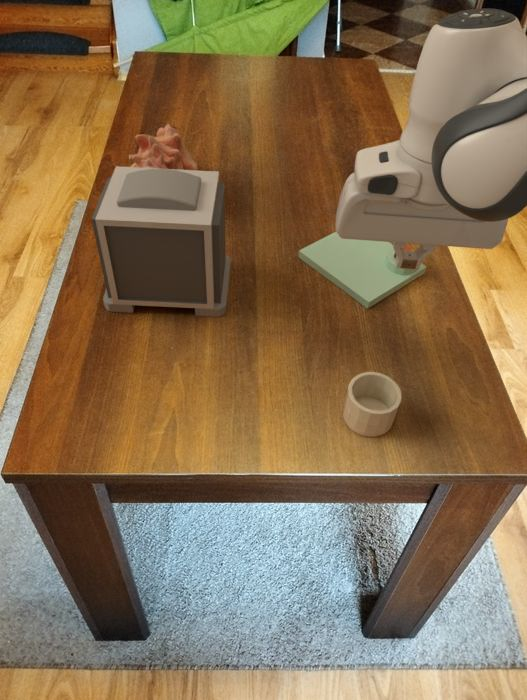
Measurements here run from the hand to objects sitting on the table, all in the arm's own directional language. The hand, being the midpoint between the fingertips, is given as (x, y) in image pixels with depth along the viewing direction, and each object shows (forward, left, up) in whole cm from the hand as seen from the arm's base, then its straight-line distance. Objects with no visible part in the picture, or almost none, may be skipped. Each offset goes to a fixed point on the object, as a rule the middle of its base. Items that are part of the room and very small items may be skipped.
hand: (406, 265), depth 75 cm
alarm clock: (+29, +19, -14) cm, 37 cm away
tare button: (+9, -13, -11) cm, 19 cm away
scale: (+14, -9, -13) cm, 21 cm away
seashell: (+51, +6, -14) cm, 53 cm away
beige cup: (-8, +13, -13) cm, 20 cm away
